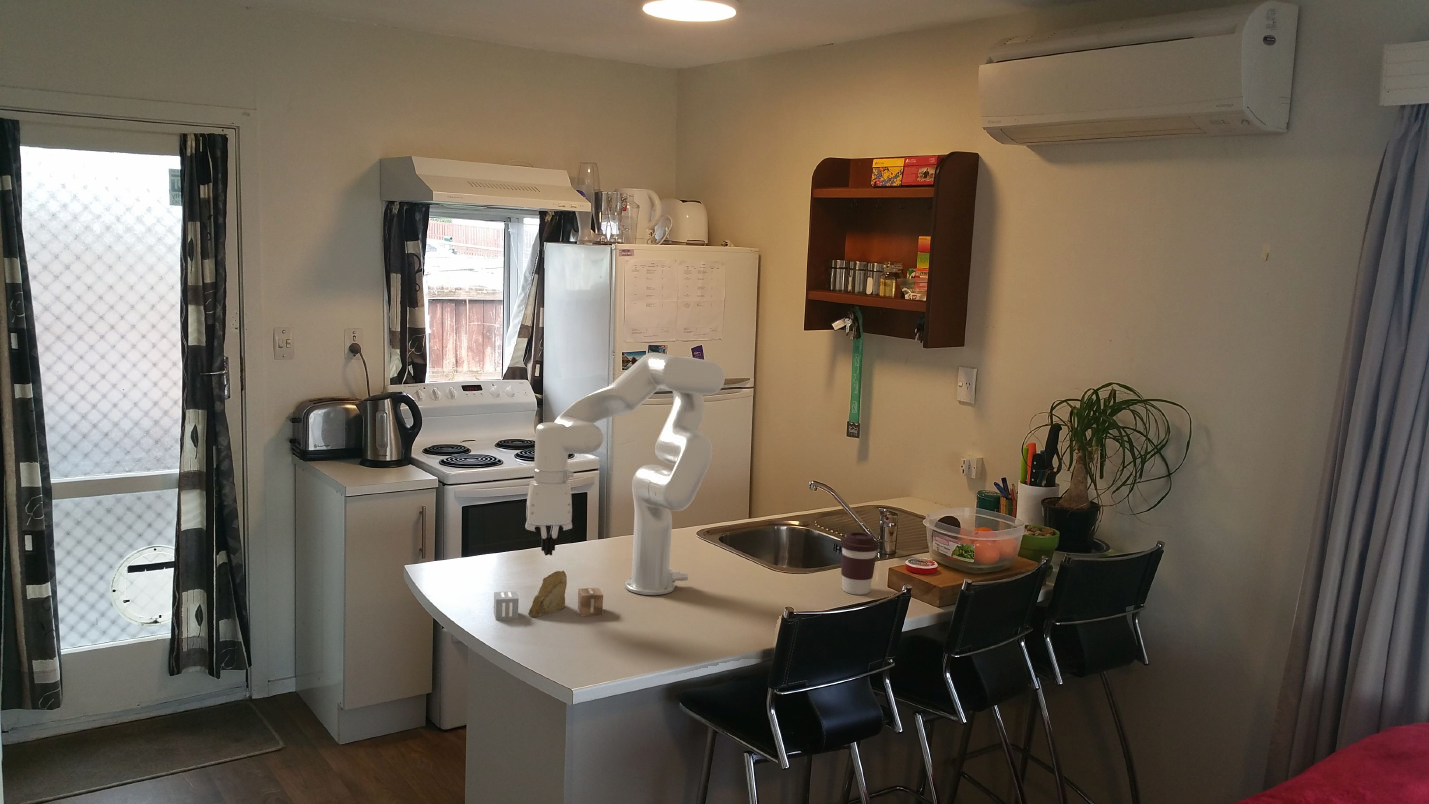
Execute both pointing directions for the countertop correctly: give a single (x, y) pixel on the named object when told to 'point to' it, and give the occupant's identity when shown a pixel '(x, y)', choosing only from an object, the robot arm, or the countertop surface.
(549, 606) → the rock
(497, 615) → the grey block
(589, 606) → the walnut block
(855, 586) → the coffee cup
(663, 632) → the countertop surface
